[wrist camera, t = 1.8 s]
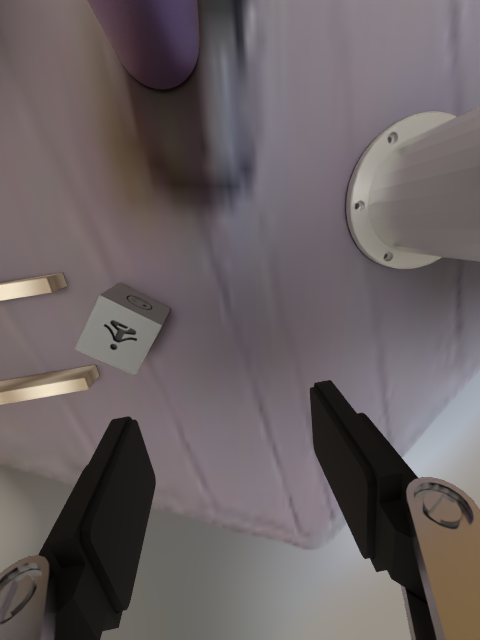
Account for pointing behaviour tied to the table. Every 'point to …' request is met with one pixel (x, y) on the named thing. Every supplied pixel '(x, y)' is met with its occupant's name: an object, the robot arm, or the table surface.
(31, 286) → the bay
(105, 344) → the dice cube
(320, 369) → the table surface
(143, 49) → the beverage can
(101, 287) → the table surface
